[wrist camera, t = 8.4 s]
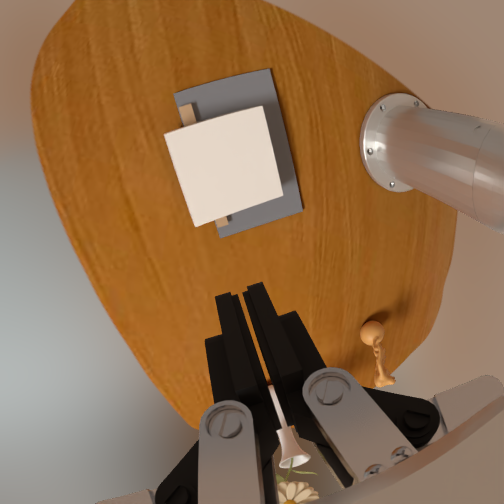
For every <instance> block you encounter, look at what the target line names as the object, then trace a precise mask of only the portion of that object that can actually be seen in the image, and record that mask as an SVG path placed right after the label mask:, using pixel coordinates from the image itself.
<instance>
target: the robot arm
mask: <svg viewBox="0 0 504 504" xmlns="http://www.w3.org/2000/svg"><path fill="white" fill-rule="evenodd" d="M360 151H361V157H362V160H363V164H364V166H365V168H366V170H367V172H368V174H369V175H370V176H371V178H372V179H373V180H374V181H375V182H376V183H377V184H379V185H380V186H382V187H384V188H386V189H388V190H390V191H394V192H406V191H409V190H412V189H413V188H415V189H417V190H419V191H421V192H423V193H425V194H427V195H430V196H432V197H434V198H436V199H437V200H439V201H441V202H443V203H445V204H447V205H449V206H451V207H453V208H455V209H457V210H458V211H460V212H462V213H464V214H466V215H468V216H470V217H471V218H473V219H475V220H476V221H478V222H480V223H482V224H484V225H486V226H487V227H489V228H491V229H492V230H494V231H496V232H498V233H501V234H504V123H500V122H496V121H491V120H487V119H483V118H478V117H474V116H469V115H464V114H459V113H453V112H447V111H441V110H434V109H428V108H427V107H426V106H425V104H424V103H422V102H421V101H420V100H419V99H417V98H416V97H414V96H412V95H409V94H404V93H393V94H388V95H385V96H383V97H381V98H380V99H379V100H377V101H376V102H375V103H374V104H373V105H372V106H371V107H370V109H369V111H368V112H367V114H366V116H365V118H364V121H363V123H362V128H361V133H360ZM247 289H248V291H245V292H242V293H243V297H244V300H245V303H246V306H247V309H248V312H249V316H250V319H251V322H252V325H253V328H254V331H255V334H256V337H257V341H258V344H259V347H260V350H261V353H262V356H263V358H264V361H265V364H266V367H267V370H268V373H269V376H270V379H271V382H272V384H273V387H274V390H275V393H276V396H277V399H278V401H279V404H280V407H281V410H282V413H283V415H284V418H285V421H286V424H287V426H288V427H289V426H292V425H294V427H295V429H296V432H298V434H299V437H301V438H303V439H306V440H309V441H312V442H313V445H314V446H315V448H316V450H317V451H318V453H319V454H320V456H321V457H322V459H323V460H324V462H325V463H326V465H327V466H328V468H329V470H330V471H331V473H332V474H333V476H334V477H335V479H336V480H337V482H338V483H339V485H340V486H341V488H342V489H343V490H341V491H338V492H335V493H333V494H330V495H328V496H325V497H322V498H319V499H316V500H313V501H310V502H307V503H304V504H504V387H503V385H502V384H501V382H500V381H499V380H498V379H497V378H495V377H494V376H490V375H485V376H480V377H478V378H476V379H474V380H471V381H469V382H467V383H464V384H462V385H459V386H457V387H454V388H452V389H449V390H446V391H444V392H441V393H438V394H435V395H434V397H433V398H431V399H428V400H424V399H421V398H415V397H410V396H405V395H399V394H394V393H390V392H385V391H380V390H376V389H371V388H367V387H362V386H361V385H360V384H359V383H358V382H357V381H356V379H355V378H354V377H353V376H352V375H351V374H350V373H348V372H347V371H345V370H343V369H340V368H334V367H330V368H327V367H326V365H325V363H324V361H323V360H322V358H321V356H320V354H319V352H318V350H317V348H316V347H315V345H314V343H313V341H312V339H311V337H310V335H309V334H308V332H307V330H306V328H305V326H304V324H303V323H302V321H301V319H300V317H299V315H298V314H297V312H296V311H292V312H289V313H287V314H284V315H281V316H278V315H277V313H276V311H275V309H274V306H273V304H272V302H271V300H270V298H269V295H268V293H267V291H266V289H265V287H264V285H263V282H260V283H257V284H253V285H250V286H247ZM215 300H216V305H217V310H218V315H219V320H220V325H221V329H222V334H221V335H217V336H214V337H211V338H207V339H205V347H206V354H207V361H208V367H209V374H210V380H211V386H212V392H213V398H214V405H212V406H210V407H209V408H208V409H207V410H206V411H205V412H204V414H203V416H202V417H201V420H200V425H199V440H198V441H197V442H196V443H195V444H194V446H193V447H192V448H191V449H190V450H189V452H188V453H187V454H186V455H185V456H184V458H183V459H182V460H181V461H180V462H179V464H178V465H177V466H176V467H175V468H174V469H173V470H172V472H171V473H170V474H169V475H168V476H167V477H166V478H165V479H164V481H163V482H162V483H161V484H160V485H159V487H158V488H157V489H154V490H149V489H146V490H143V491H139V492H135V493H132V494H128V495H125V496H121V497H116V498H112V499H108V500H103V501H100V502H98V503H95V504H280V503H279V495H278V487H277V479H276V472H275V464H274V457H273V454H274V452H275V450H276V449H277V447H278V445H279V444H280V443H279V440H278V439H279V437H278V434H277V430H280V429H282V426H281V423H280V420H279V417H278V414H277V411H276V408H275V405H274V402H273V399H272V397H271V394H270V391H269V388H268V385H267V382H266V379H265V376H264V373H263V370H262V367H261V364H260V361H259V358H258V354H257V351H256V348H255V345H254V343H253V340H252V337H251V334H250V331H249V328H248V325H247V322H246V319H245V316H244V313H243V310H242V307H241V303H240V300H239V297H238V294H236V295H233V296H232V295H231V293H230V292H228V293H225V294H222V295H218V296H215Z"/></svg>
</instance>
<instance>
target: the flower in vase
mask: <svg viewBox="0 0 504 504" xmlns="http://www.w3.org/2000/svg"><path fill="white" fill-rule="evenodd" d="M268 388H269V391H270V394H271V397H272V399H273V402H274V405H275V408H276V411H277V414H278V417H279V420H280V423H281V426H282V429H280V430H277V433H278V435H279V438H280V441H281V445H282V459H281V462H280V464H279V466H280V467H281V468H289V470H288V473H287V475H286V479H285V480H284V478H283V477H281V476H280V475H278V474H276V479H277V487H278V495H279V503H280V504H304V503H307V502H310V501H313V500H316V499H319V497H318V492H316V491H314V489H313V488H312V487H308V486H309V485H308V483H306V482H299V483H298V482H297V481H294V482H291V483H290V482H288V481H287V479H288V476H289V474H290V471H291V468H292V467H295V466H298V465H301V464H303V463H305V462H307V461H308V460H309V459H310V457H311V456H310V455H309V454H307V453H305V452H304V451H303V450H301V448H300V447H299V446H298V444H297V442H296V440H295V438H294V436H293V434H292V430H291V426H289V427H288V426H287V424H286V421H285V418H284V415H283V413H282V410H281V407H280V404H279V401H278V399H277V396H276V393H275V390H274V387H273V385H270V386H268ZM294 472H297V473H313V472H300V471H294ZM314 474H316V473H314Z"/></svg>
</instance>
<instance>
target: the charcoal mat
mask: <svg viewBox="0 0 504 504" xmlns="http://www.w3.org/2000/svg"><path fill="white" fill-rule="evenodd" d="M174 98H175V101H176V104H177V107H178V111H179V114H180V117H181V120H182V123H183V126H187V125H190V124H193V123H197V122H200V121H203V120H206V119H210V118H213V117H217V116H220V115H224V114H227V113H231V112H235V111H239V110H242V109H246V108H250V107H256V106H263V110H264V114H265V118H266V122H267V126H268V130H269V135H270V139H271V143H272V147H273V151H274V156H275V160H276V164H277V169H278V173H279V178H280V182H281V187H282V191H283V196H281V197H278V198H275V199H272V200H269V201H266V202H263V203H261V204H258V205H255V206H252V207H249V208H246V209H244V210H241V211H238V212H235V213H232V214H230V215H227V216H224V217H221V218H219V219H216V220H214V221H215V224H216V227H217V230H218V233H219V236H220V238H223V237H226V236H229V235H232V234H235V233H238V232H241V231H244V230H247V229H250V228H253V227H256V226H259V225H262V224H265V223H268V222H271V221H274V220H277V219H280V218H283V217H286V216H290V215H293V214H296V213H299V212H302V211H303V209H302V204H301V199H300V194H299V189H298V185H297V180H296V175H295V171H294V166H293V162H292V157H291V153H290V148H289V144H288V140H287V135H286V131H285V127H284V123H283V119H282V115H281V111H280V107H279V103H278V99H277V95H276V91H275V88H274V84H273V80H272V76H271V73H270V69H265V70H260V71H255V72H250V73H246V74H241V75H237V76H233V77H229V78H225V79H221V80H217V81H214V82H210V83H207V84H203V85H200V86H196V87H193V88H190V89H187V90H184V91H180V92H177V93H174Z"/></svg>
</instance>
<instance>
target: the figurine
mask: <svg viewBox="0 0 504 504" xmlns="http://www.w3.org/2000/svg"><path fill="white" fill-rule="evenodd" d="M360 337H361V339H362V341H363V342H364V343H365V344H367V345H373V349H374V351H373V353H374V354H375V356H376V358H377V359H376V362H377V363H376V367H375V370H376V371H375V377H374V382H375V385H376V386H377V387H383V386H385V385H390V384H391V385H392V384H394V383H395V381H396V380H394V379H395V378H394V377H392V376H390V373H389V371H388V370H387V369H386V368H385V367H384V362H385V358H386V356H385V355H384V354H385V349H384V348H383V347H381V346H382V343H381V345H380V342H381V340H382V339H383V337H384V328H383V326H382V325H381V324H380V323H379V322H377V321H368V322H366V323H365V324H364V325H363V326H362V328H361V331H360ZM378 350H379V352H376V351H378Z"/></svg>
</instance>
